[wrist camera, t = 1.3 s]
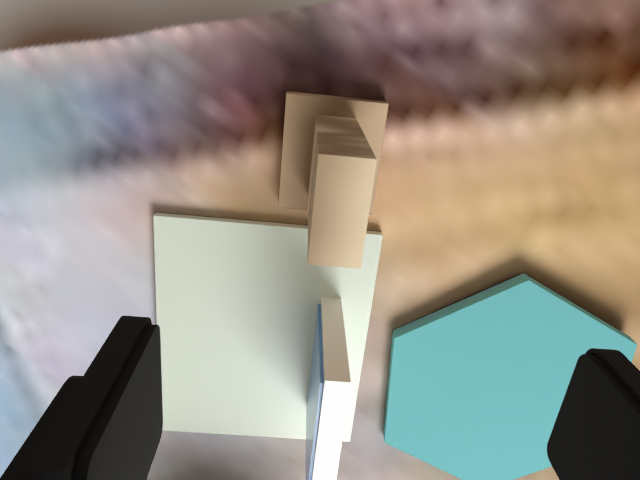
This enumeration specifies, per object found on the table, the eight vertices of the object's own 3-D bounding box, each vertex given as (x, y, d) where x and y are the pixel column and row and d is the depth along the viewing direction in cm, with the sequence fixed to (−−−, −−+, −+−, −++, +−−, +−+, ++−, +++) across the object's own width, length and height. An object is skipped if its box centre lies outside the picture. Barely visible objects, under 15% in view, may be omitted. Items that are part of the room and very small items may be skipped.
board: (381, 231, 34) (382, 235, 33) (349, 436, 41) (349, 441, 40) (155, 212, 33) (153, 215, 32) (162, 424, 40) (160, 430, 39)
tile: (341, 298, 35) (350, 382, 27) (326, 410, 39) (330, 514, 31) (318, 296, 35) (321, 380, 27) (305, 409, 39) (304, 512, 31)
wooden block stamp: (385, 101, 31) (424, 139, 20) (369, 209, 33) (397, 291, 23) (287, 91, 30) (275, 124, 20) (279, 201, 33) (265, 281, 23)
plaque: (423, 488, 45) (650, 409, 41) (427, 509, 43) (665, 428, 39) (332, 347, 39) (590, 236, 34) (333, 364, 37) (605, 249, 33)
